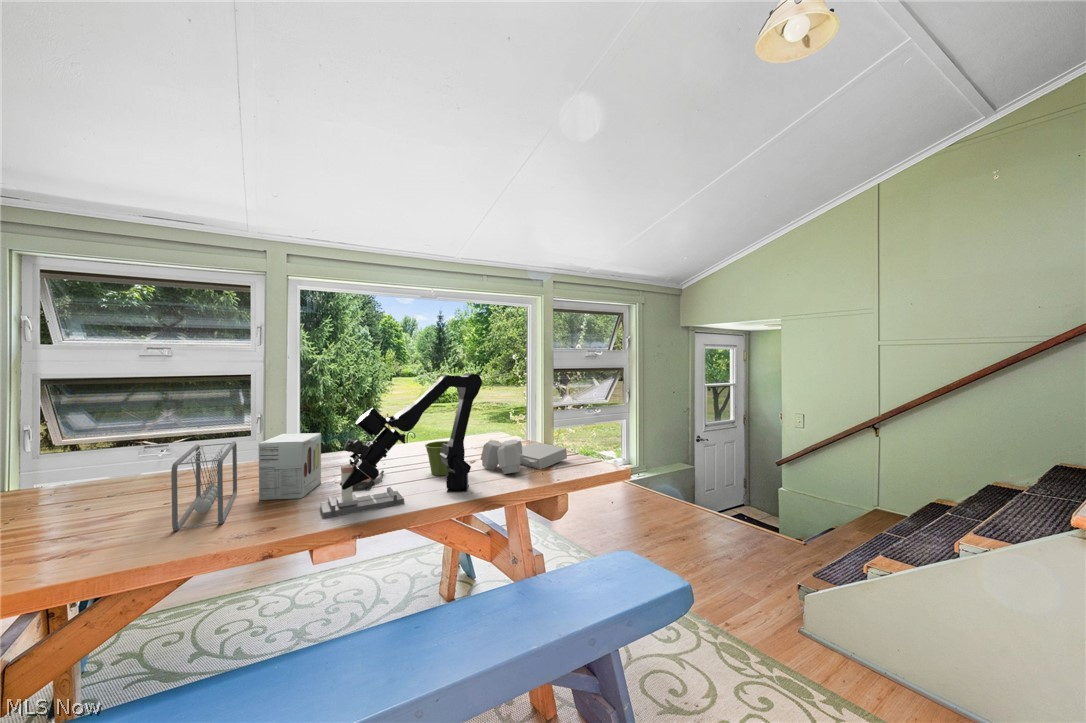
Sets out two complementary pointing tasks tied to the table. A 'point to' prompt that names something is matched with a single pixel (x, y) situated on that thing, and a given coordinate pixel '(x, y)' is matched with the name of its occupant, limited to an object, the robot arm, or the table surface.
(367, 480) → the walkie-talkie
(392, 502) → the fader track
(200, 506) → the newton's cradle
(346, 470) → the lever
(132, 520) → the table surface
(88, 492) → the table surface
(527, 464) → the game console
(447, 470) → the plant pot
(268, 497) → the supplement box
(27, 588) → the table surface
